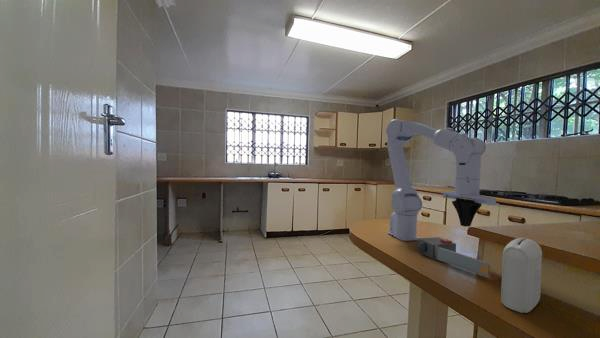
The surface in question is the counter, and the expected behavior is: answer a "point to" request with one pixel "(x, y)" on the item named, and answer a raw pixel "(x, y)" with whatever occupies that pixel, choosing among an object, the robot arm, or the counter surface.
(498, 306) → the counter surface
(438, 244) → the grey low box
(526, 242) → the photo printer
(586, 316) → the counter surface
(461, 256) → the side door
